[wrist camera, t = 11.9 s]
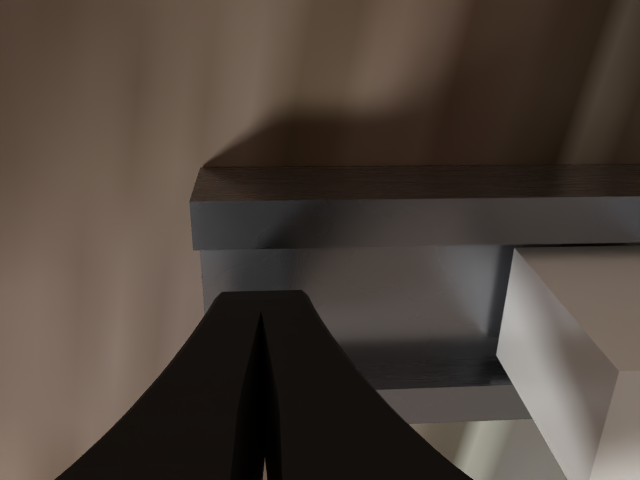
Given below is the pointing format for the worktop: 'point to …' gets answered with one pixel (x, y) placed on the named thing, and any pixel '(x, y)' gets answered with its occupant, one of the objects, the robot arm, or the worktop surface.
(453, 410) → the slider track
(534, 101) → the worktop surface
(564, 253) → the slider
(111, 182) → the worktop surface
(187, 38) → the worktop surface
